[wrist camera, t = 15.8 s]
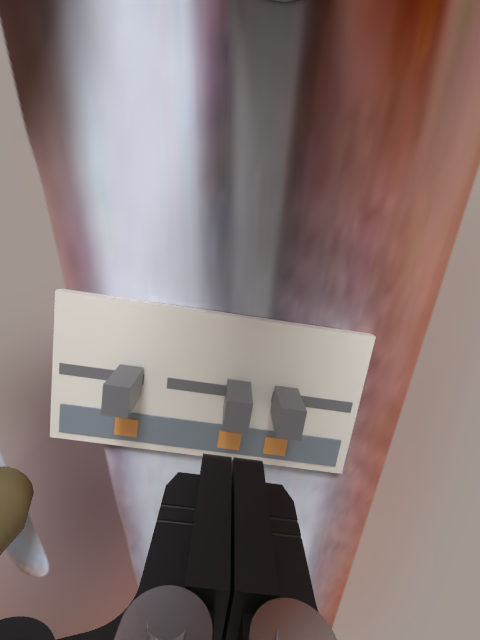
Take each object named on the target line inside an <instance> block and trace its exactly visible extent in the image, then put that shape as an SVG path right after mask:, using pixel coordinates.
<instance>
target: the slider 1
mask: <svg viewBox="0 0 480 640" xmlns="http://www.w3.org/2000/svg"><path fill="white" fill-rule="evenodd" d="M143 371H144V367H137V366H129V365H122V364H120V365H119V366H118V367H117V368H116V370H115V371H114V372H113V373H112V374H111V375H110V377H109V378H108V379H107V380H106V381H105V383H104V384H103V392H102V406H101V415H103V416H111V417H119V418H127V419H128V417H129V415H130V414H131V412H132V410H133V408H134V407H135V405H136V403H137V401H138V399H139V398H140V396H141V392H142V382H143Z"/></svg>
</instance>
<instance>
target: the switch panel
mask: <svg viewBox="0 0 480 640" xmlns="http://www.w3.org/2000/svg"><path fill="white" fill-rule="evenodd" d="M375 338H376V337H375V336H374V335H372V334H370V333H363V332H356V331H349V330H342V329H335V328H328V327H322V326H315V325H308V324H301V323H294V322H287V321H280V320H274V319H267V318H260V317H253V316H246V315H239V314H232V313H226V312H219V311H212V310H205V309H198V308H191V307H184V306H178V305H171V304H164V303H157V302H150V301H143V300H136V299H130V298H123V297H116V296H109V295H102V294H95V293H88V292H82V291H75V290H68V289H58V290H56V291H55V312H54V339H53V366H52V393H51V420H50V421H51V422H50V437H53V438H61V439H69V440H77V441H85V442H93V443H101V444H109V445H117V446H125V447H133V448H141V449H148V450H156V451H164V452H172V453H180V454H188V455H196V456H203V453H204V454H212V455H220V456H228V457H232V460H233V458H234V457H237V458H245V459H253V460H260V461H262V462H263V464H268V465H276V466H284V467H292V468H300V469H308V470H316V471H324V472H332V473H339V474H342V471H343V467H344V463H345V459H346V455H347V451H348V447H349V443H350V439H351V435H352V431H353V427H354V423H355V419H356V415H357V411H358V407H359V403H360V399H361V395H362V391H363V387H364V382H365V378H366V374H367V370H368V366H369V362H370V358H371V354H372V350H373V346H374V342H375ZM120 364H122V365H129V366H137V367H144V371H143V382H142V392H141V396H140V398H139V399H138V401H137V403H136V405H135V407H134V408H133V410H132V412H131V414H130V415H129V417H128V419H127V418H119V417H111V416H103V415H101V406H102V392H103V384H104V383H105V381H106V380H107V379H108V378H109V377H110V375H111V374H112V373H113V372H114V371H115V370H116V368H117V367H118V366H119V365H120ZM227 379H232V380H239V381H246V382H251V389H252V398H253V408H252V414H251V420H250V425H249V431H248V434H242V433H235V432H227V431H222V421H223V405H224V399H225V392H226V386H227ZM275 385H276V386H283V387H290V388H298V390H299V392H300V395H301V397H302V400H303V402H304V405H305V407H306V410H307V415H306V420H305V425H304V429H303V434H302V439H301V441H296V440H289V439H281V438H275V434H274V429H273V423H272V418H271V413H270V410H271V405H272V399H273V394H274V389H275Z"/></svg>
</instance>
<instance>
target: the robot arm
mask: <svg viewBox="0 0 480 640" xmlns="http://www.w3.org/2000/svg"><path fill="white" fill-rule="evenodd" d="M274 1H281V2H289V1H295V0H274ZM0 640H55V638H54V636H53V634H52V632H51V630H50V629H49V628H48V627H47V626H46V625H45V624H44V623H42V622H41V621H39V620H37V619H34V618H30V617H11V618H5V619H2V620H0ZM57 640H337V639H336V636H335V634H334V632H333V630H332V628H331V627H330V625H329V624H328V622H327V621H326V620H325V619H324V618H323V617H322V615H321V614H320V613H319V612H318V609H317V606H316V602H315V598H314V593H313V589H312V584H311V579H310V575H309V570H308V566H307V561H306V556H305V552H304V547H303V543H302V539H301V534H300V529H299V524H298V523H297V515H296V511H295V506H294V501H293V500H292V498H291V497H290V496H289V494H288V493H287V491H286V490H285V489H284V487H283V486H282V485H279V484H271V483H265V475H264V467H263V462H262V461H260V460H253V459H245V458H237V457H234V458H233V461H232V457H228V456H220V455H212V454H204V453H203V458H202V465H201V471H200V475H197V474H189V473H181V472H178V473H177V474H176V476H175V477H174V478H173V479H172V480H171V481H170V482H169V483H168V484H167V485H166V488H165V492H164V495H163V499H162V503H161V507H160V511H159V514H158V518H157V522H156V526H155V529H154V533H153V537H152V541H151V544H150V548H149V552H148V556H147V559H146V563H145V567H144V571H143V575H142V578H141V582H140V586H139V588H138V591H137V594H136V596H135V597H134V599H133V601H132V602H131V603H130V605H129V606H128V607H127V608H126V609H125V611H124V612H123V613H122V614H120V615H119V616H118V617H117V618H116V619H114V620H113V621H111V622H110V623H108V624H107V625H104V626H102V627H100V628H98V629H95V630H92V631H89V632H85V633H81V634H78V635H73V636H69V637H65V638H61V639H57Z"/></svg>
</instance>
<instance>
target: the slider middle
mask: <svg viewBox="0 0 480 640" xmlns="http://www.w3.org/2000/svg"><path fill="white" fill-rule="evenodd" d="M252 408H253V398H252V389H251V382H246V381H239V380H232V379H227V386H226V392H225V399H224V405H223V421H222V431H227V432H235V433H242V434H248V431H249V425H250V420H251V414H252Z"/></svg>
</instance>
